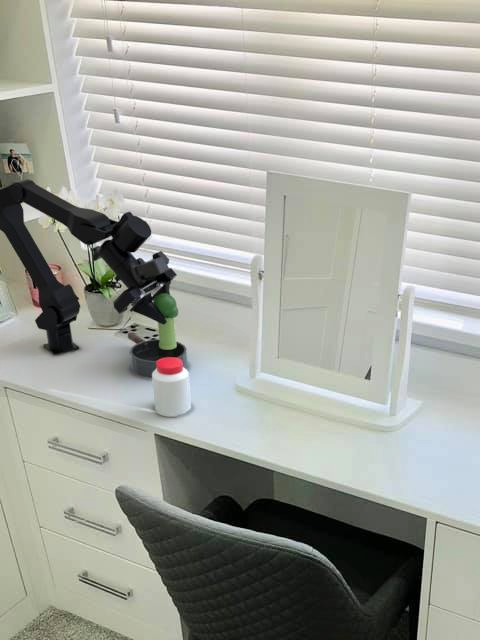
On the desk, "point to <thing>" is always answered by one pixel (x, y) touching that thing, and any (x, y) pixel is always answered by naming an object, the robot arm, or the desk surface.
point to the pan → (153, 356)
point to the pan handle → (136, 339)
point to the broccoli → (169, 311)
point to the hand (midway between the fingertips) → (171, 319)
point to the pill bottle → (171, 387)
